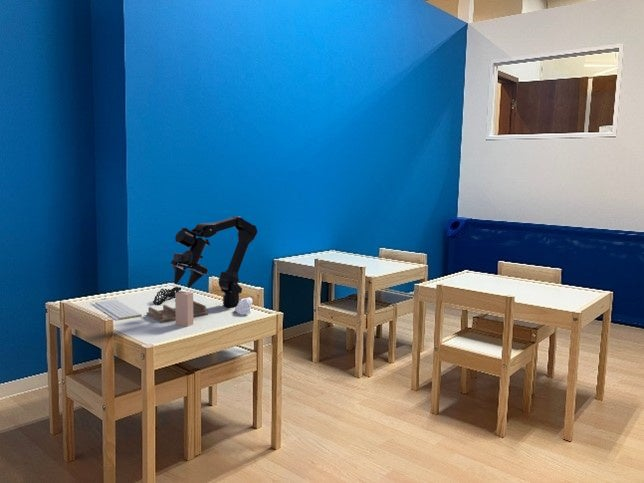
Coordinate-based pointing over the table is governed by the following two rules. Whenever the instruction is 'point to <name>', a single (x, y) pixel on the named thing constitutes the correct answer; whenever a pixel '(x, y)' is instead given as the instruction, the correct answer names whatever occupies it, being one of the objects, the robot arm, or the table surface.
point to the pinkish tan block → (184, 308)
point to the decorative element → (166, 294)
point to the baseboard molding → (116, 309)
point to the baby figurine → (244, 306)
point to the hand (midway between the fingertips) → (181, 285)
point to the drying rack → (174, 312)
